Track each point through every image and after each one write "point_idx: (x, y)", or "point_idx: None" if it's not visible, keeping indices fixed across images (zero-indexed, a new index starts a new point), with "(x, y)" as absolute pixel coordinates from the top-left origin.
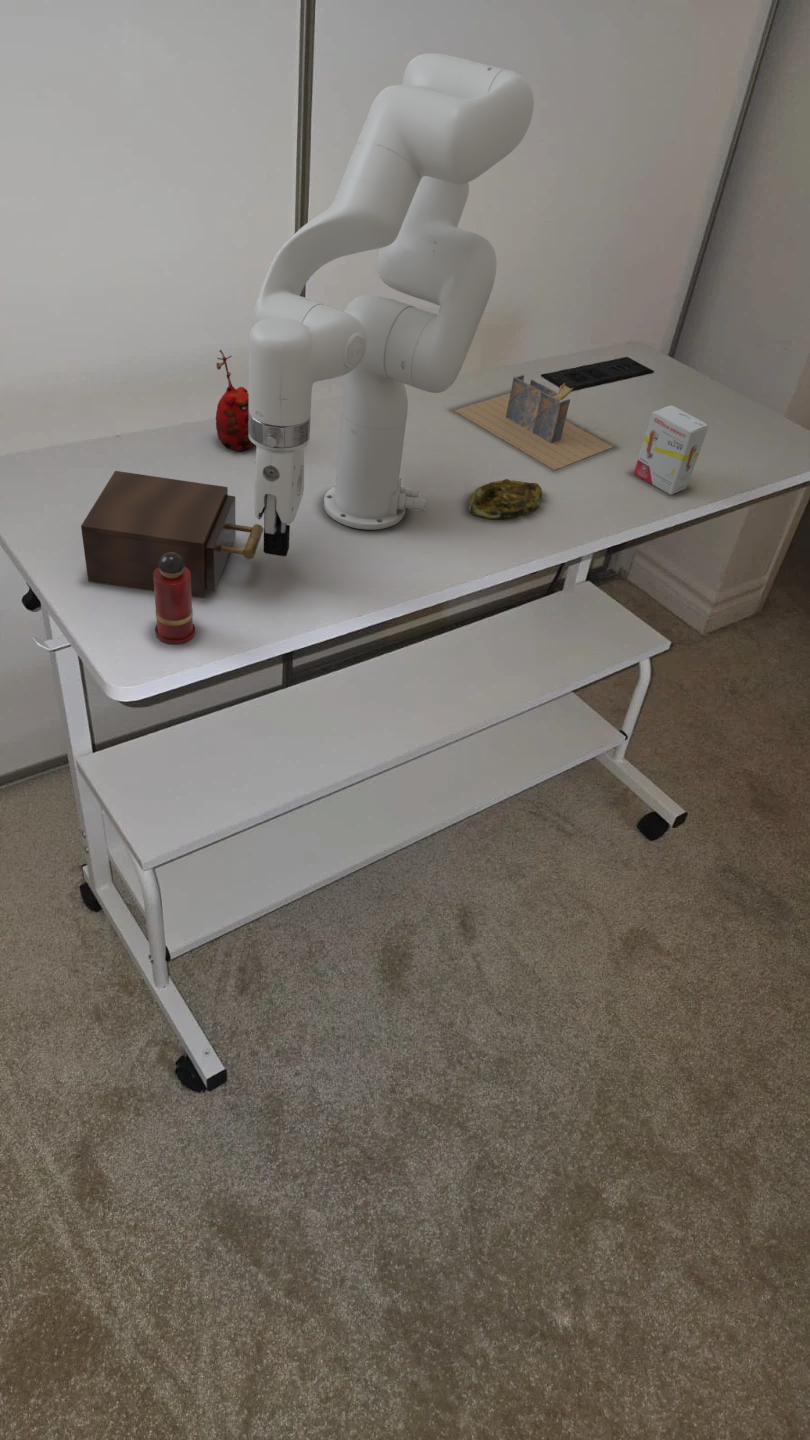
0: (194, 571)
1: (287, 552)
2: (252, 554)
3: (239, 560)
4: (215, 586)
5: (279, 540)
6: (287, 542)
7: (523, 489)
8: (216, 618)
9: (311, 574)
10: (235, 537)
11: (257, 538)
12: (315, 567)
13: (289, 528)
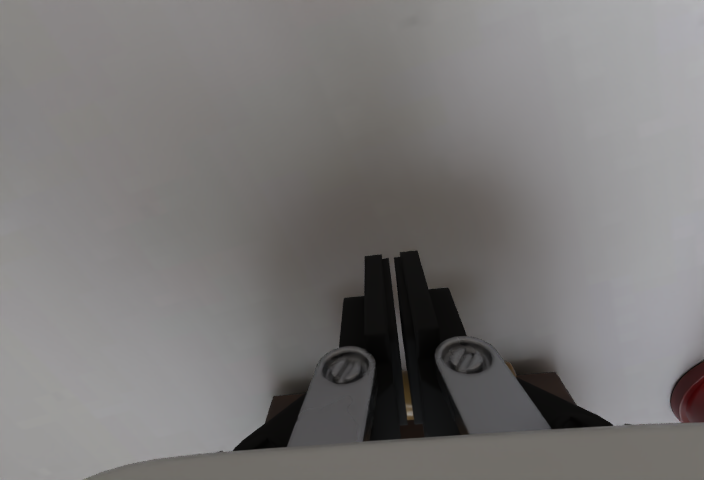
0: None
1: (403, 253)
2: (516, 376)
3: None
4: (549, 379)
5: (461, 328)
6: (419, 283)
7: None
8: (650, 326)
9: (330, 131)
10: (275, 398)
11: (408, 394)
12: (281, 130)
13: (372, 323)
